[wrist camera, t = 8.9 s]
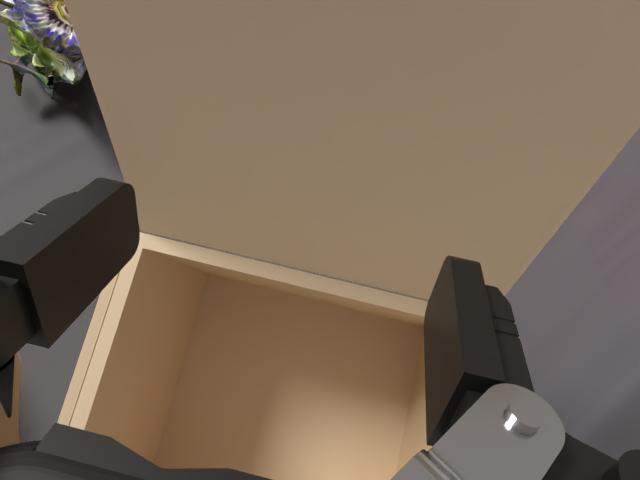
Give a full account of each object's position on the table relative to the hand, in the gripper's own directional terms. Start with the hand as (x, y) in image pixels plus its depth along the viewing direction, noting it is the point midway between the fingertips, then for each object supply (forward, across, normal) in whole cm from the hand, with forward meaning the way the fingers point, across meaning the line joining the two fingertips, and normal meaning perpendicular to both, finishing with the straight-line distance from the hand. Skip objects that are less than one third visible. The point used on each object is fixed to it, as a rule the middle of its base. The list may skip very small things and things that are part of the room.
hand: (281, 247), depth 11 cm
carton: (+12, 0, +25) cm, 28 cm away
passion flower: (+30, +26, +7) cm, 41 cm away
